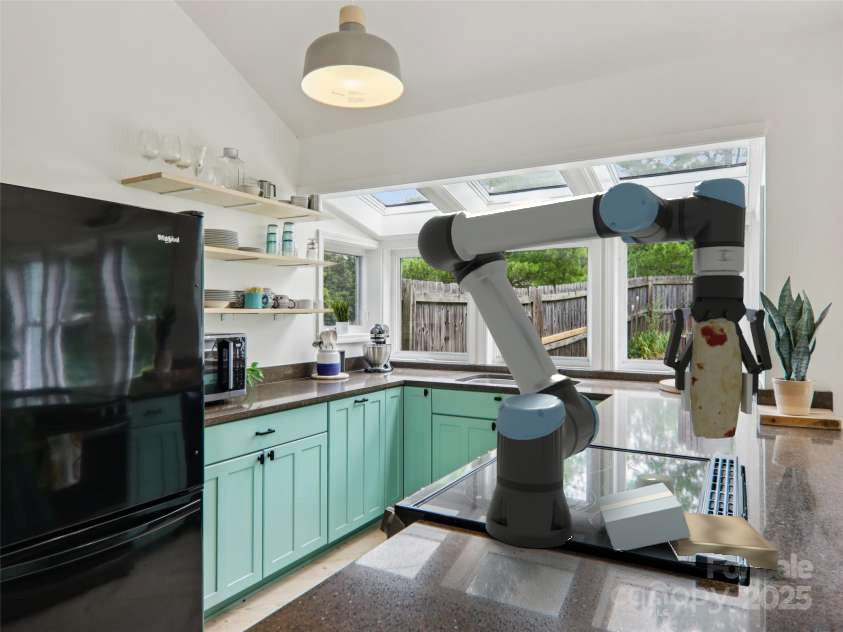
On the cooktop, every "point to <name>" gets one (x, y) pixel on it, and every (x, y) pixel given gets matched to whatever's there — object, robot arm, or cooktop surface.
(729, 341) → the food model
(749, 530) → the tan square plate
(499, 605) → the cooktop surface
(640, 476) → the pale green rounded knob
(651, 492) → the flat box
